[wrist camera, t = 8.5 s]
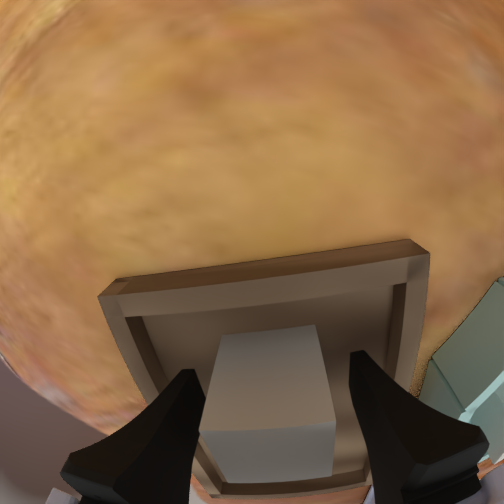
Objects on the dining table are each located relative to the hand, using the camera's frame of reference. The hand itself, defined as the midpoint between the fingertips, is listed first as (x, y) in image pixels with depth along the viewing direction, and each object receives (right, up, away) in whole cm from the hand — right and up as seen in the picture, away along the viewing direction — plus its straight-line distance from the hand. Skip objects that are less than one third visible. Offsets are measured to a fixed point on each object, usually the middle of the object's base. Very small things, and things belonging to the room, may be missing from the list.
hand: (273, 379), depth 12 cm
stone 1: (0, 0, +1) cm, 1 cm away
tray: (+1, -4, +3) cm, 5 cm away
